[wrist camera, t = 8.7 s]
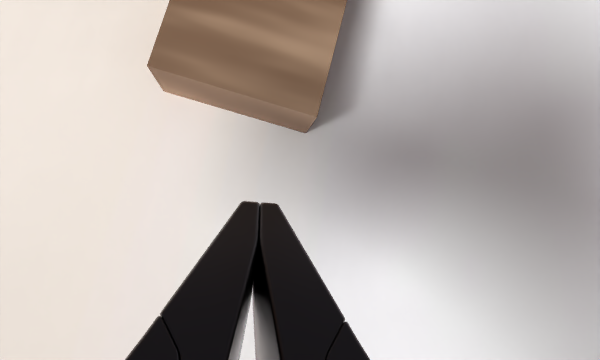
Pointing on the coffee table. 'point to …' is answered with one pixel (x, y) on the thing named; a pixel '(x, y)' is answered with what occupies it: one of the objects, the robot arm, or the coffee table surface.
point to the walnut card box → (249, 55)
